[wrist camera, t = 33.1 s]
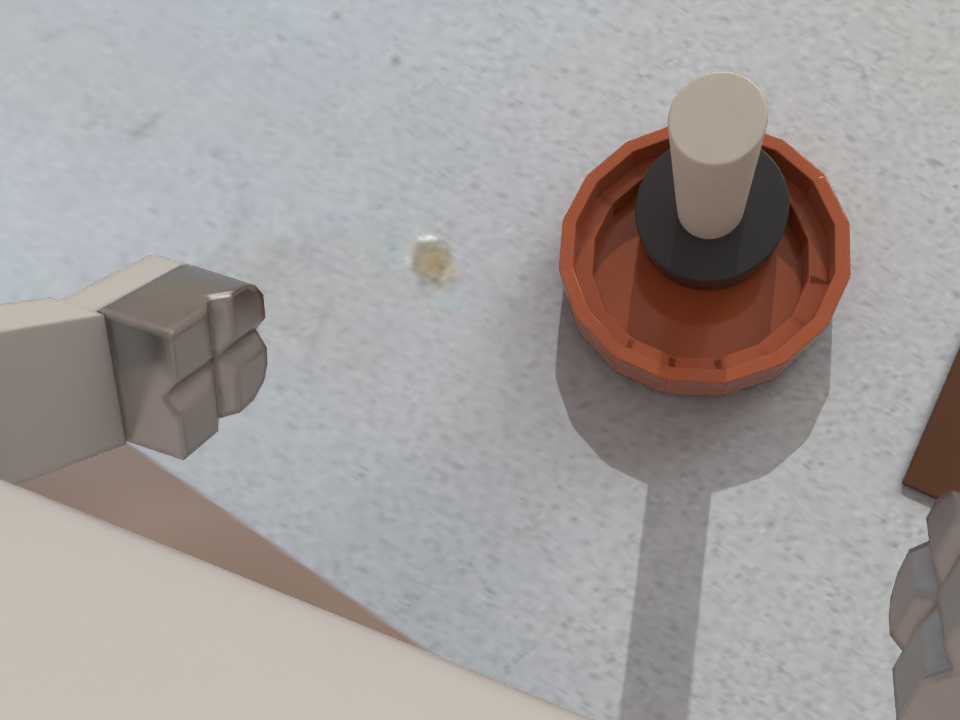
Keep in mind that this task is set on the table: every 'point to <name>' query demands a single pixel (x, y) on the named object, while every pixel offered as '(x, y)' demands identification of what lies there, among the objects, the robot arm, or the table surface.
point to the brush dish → (691, 312)
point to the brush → (713, 187)
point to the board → (939, 443)
